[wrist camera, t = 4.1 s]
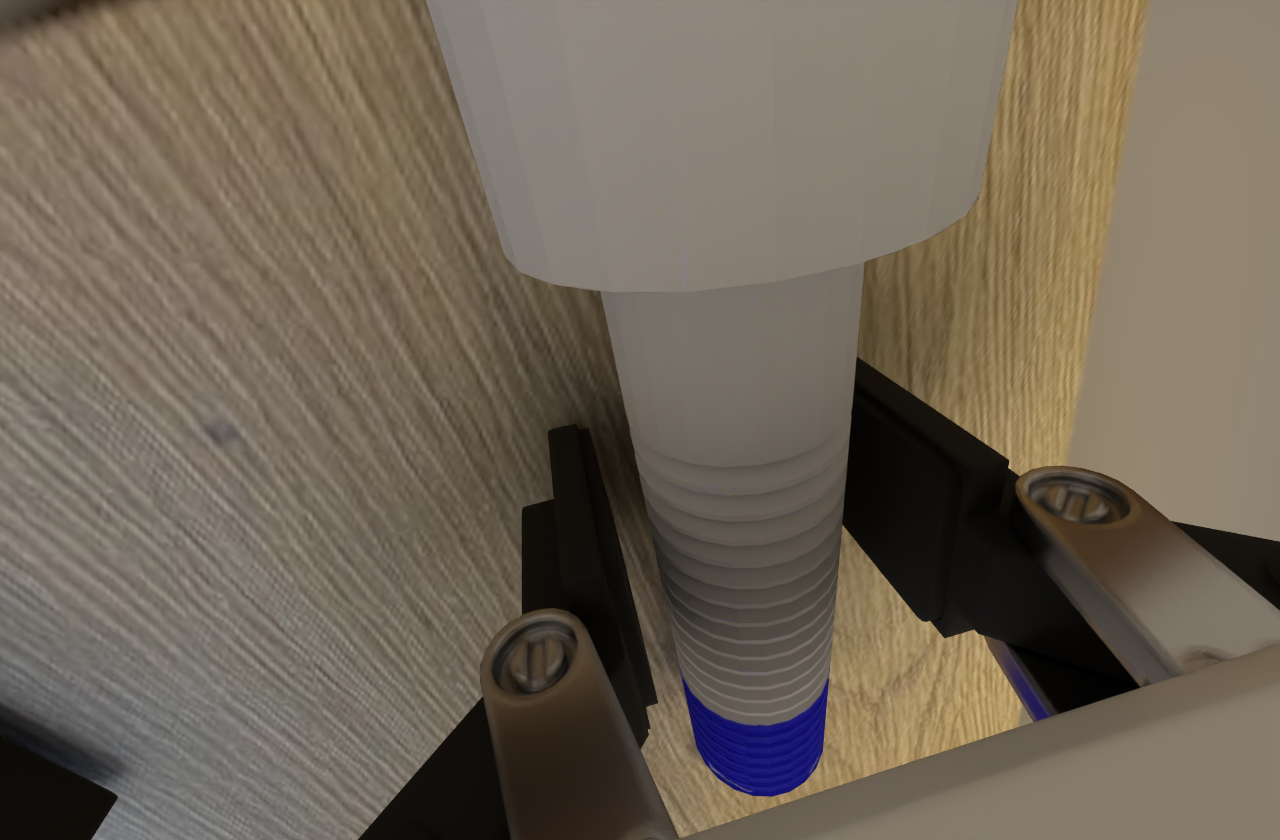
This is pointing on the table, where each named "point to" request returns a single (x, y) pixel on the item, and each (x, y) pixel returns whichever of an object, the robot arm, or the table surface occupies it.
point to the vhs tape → (47, 798)
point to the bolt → (731, 279)
